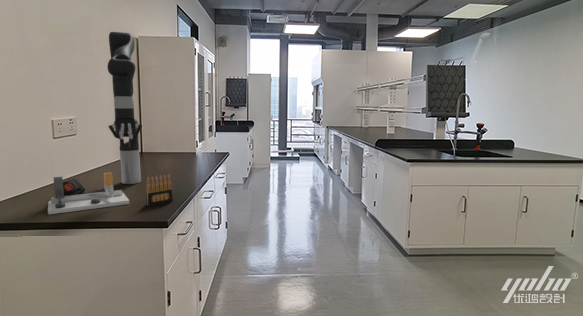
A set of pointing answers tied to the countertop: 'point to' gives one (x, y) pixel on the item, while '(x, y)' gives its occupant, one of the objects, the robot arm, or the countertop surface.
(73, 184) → the battery
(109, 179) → the block
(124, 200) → the hole plate
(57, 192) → the rail and fixed leg
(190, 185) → the countertop surface
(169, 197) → the ammunition clip
